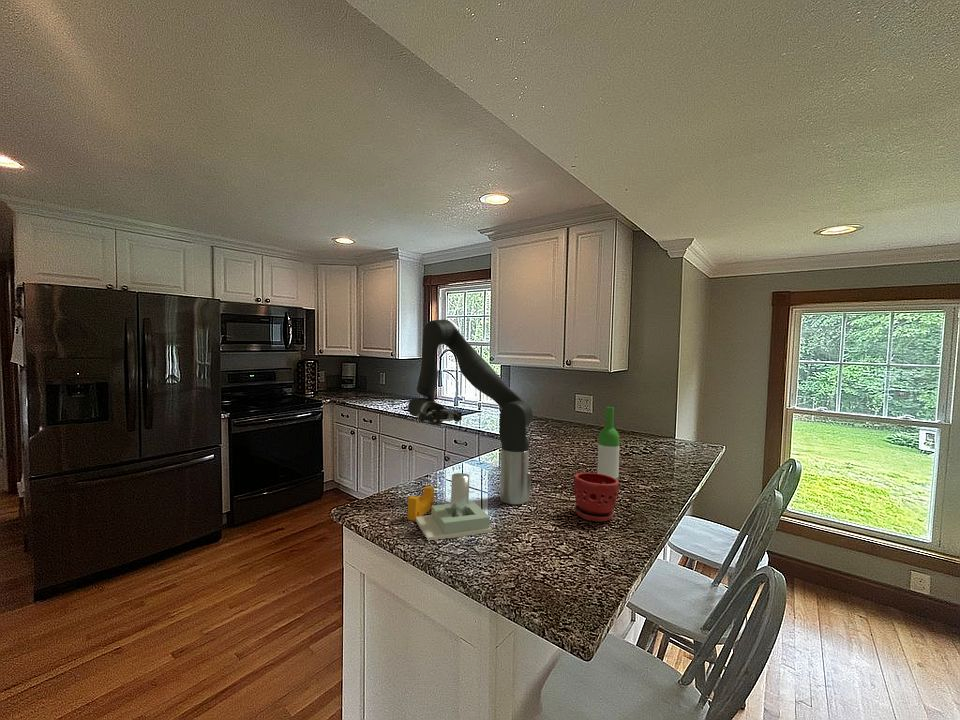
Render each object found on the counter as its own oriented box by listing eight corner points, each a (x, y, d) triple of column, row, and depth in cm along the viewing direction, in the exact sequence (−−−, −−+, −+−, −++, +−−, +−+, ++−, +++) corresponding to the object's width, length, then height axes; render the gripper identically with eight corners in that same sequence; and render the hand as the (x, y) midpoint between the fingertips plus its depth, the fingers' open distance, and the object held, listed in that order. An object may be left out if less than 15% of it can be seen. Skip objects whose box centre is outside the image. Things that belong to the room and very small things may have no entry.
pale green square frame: (473, 513, 124) (474, 500, 124) (491, 532, 111) (492, 517, 111) (415, 520, 118) (416, 506, 118) (427, 541, 105) (428, 525, 105)
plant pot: (605, 528, 116) (607, 487, 116) (565, 515, 125) (566, 476, 125) (624, 516, 126) (625, 477, 125) (585, 505, 134) (586, 469, 134)
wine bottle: (603, 480, 163) (606, 405, 163) (621, 484, 157) (624, 407, 157) (593, 483, 158) (595, 406, 158) (611, 488, 152) (614, 408, 152)
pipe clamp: (421, 505, 130) (421, 485, 130) (433, 507, 129) (434, 487, 129) (402, 518, 119) (402, 497, 119) (415, 521, 118) (416, 499, 118)
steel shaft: (464, 517, 119) (466, 472, 119) (470, 523, 114) (471, 477, 114) (448, 519, 117) (449, 473, 117) (453, 525, 112) (454, 478, 112)
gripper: (413, 402, 142) (424, 407, 127) (451, 401, 148) (467, 406, 133) (412, 423, 142) (423, 431, 127) (451, 422, 148) (466, 429, 133)
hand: (445, 419), depth 130 cm, fingers open, 8 cm apart
